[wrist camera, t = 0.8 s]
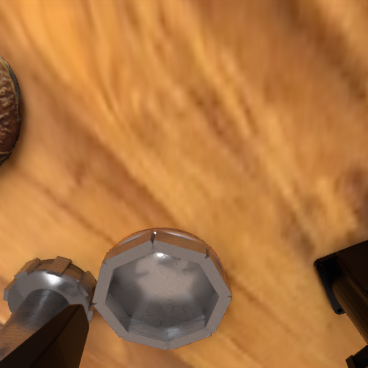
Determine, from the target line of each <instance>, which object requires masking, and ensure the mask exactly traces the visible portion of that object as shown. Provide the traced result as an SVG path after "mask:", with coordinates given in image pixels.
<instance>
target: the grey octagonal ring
mask: <svg viewBox="0 0 368 368" xmlns="http://www.w3.org/2000/svg"><path fill="white" fill-rule="evenodd" d="M231 295H232V294H231V289H230V284H229V281H228V279H227V278H226V276H225V274H224V269H223V266H222V263H221V261H220V259H219V257H218V256H217V254H216V253H215V252H214V250H213V249H212V248H211V247H210V246H209V245H208V244H206V243H205V242H204V241H203V240H201V239H199V238H198V237H196V236H194V235H192V234H190V233H187V232H184V231H181V230H177V229H171V228H152V229H146V230H142V231H139V232H136V233H133V234H131V235H129V236H128V237H126V238H124V239H123V240H122V241H120V242H119V243H118V244H117V245H116V246H115V247H114V248H112V249H110V250H109V252H107V254H106V256H105V258H104V260H103V262H102V264H101V269H100V273H99V277H98V281H97V285H96V289H95V293H94V297H93V301H92V302H93V303H94V305H93V306H94V307H95V308H96V309H97V311H98V312H99V313H100V314H101V316H102V317H103V318H104V319H105V320H106V322H107V323H108V324H109V325H110V327H111V328H112V329H113V330H114V331H115V333H116V334H117V335H118V336H119V338H120V337H123V340H127V341H131V342H135V343H139V344H143V345H147V346H151V347H155V348H159V349H163V350H167V349H168V347H169V349H170V350H173V349H175V348H178V347H181V346H184V345H187V344H190V343H192V342H195V341H198V340H201V339H204V338H207V337H209V336H212V333H215V332H216V330H217V328H218V326H219V324H220V322H221V320H222V318H223V315H224V313H225V311H226V309H227V307H228V305H229V303H230V301H231V299H232V296H231Z"/></svg>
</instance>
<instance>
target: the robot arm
mask: <svg viewBox="0 0 368 368" xmlns="http://www.w3.org/2000/svg"><path fill="white" fill-rule="evenodd" d="M320 264H322V265H321V266H319V265H320ZM314 266H315V269H316V271H317V273H318V276H319V278H320V280H321V283H322V285H323V288H324V290H325V292H326V295H327V297H328V299H329V302H330V304H331V307H332V309H333V310H334V312H335V313H336V314H338V315H340V314H344V313H346V314H347V315H348V317H349V318H350V320H351V321H352V322H353V324H354V325H355V327H356V328H357V330H358V331H359V332H360V334H361V335H362V337H363V338H364V340H365V341H366V343H367V344H368V240H367V241H364V242H361V243H359V244H356V245H354V246H351V247H348V248H346V249H343V250H341V251H338V252H335V253H333V254H330V255H327V256H325V257H322V258H320V259H317V260H316V261H315V262H314ZM88 331H89V322H88V318H87V315H86V312H85V309H84V306H83V305H82V304H70V305H68V306H66V307H65V308H64V309H63V310H62V311H60V312H59V313H58V314H57V315H56V316H54V317H53V318H52V319H51V320H49V321H48V322H47V323H46V324H45V325H43V326H42V327H41V328H40V329H39V330H37V331H36V332H35V333H34V334H32V335H31V336H30V337H29V338H28V339H26V340H25V341H24V342H23V343H21V344H20V345H19V346H18V347H17V348H15V349H14V350H13V351H12V352H11V353H9V354H8V355H7V356H6V357H4V358H3V359H2V360H1V361H0V368H79V365H80V361H81V357H82V353H83V350H84V346H85V342H86V338H87V335H88ZM346 362H347V365H348V368H368V345H366V346H365V347H364V348H362V349H361V350H360V351H358V352H357V353H356V354H355V355H351V356H349V357H348V358H347V359H346Z"/></svg>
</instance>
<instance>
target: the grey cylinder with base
mask: <svg viewBox="0 0 368 368" xmlns="http://www.w3.org/2000/svg"><path fill="white" fill-rule="evenodd" d="M70 262H71V260H69V259H66V258H62V257H58V256H57V258H56V259H48V260H42V261H40V260H39V259H38V258H35V259H33V260H31V261H29V262H27V263H26V264H25V265H24V266H23V267H22V268H21V269H20V270H19V272H18V273H17V274H16V275H15V276H14V277H15V278H14V279H13V281H12V282H11V283H10V284H9V285H8V286H7V287H6V288H5V289H4V298H3V300H6V301H8V305H9V308H10V310H11V312H12V314H11V317H10V318H9V319H8V321H7V322H6V323H5V324H4V326H3V327H2V328H1V329H0V361H1V360H2V359H3V358H4V357H6V356H7V355H8V354H9V353H11V352H12V351H13V350H14V349H15V348H17V347H18V346H19V345H20V344H21V343H23V342H24V341H25V340H26V339H28V338H29V337H30V336H31V335H32V334H34V333H35V332H36V331H37V330H39V329H40V328H41V327H42V326H43V325H45V324H46V323H47V322H48V321H49V320H51V319H52V318H53V317H54V316H56V315H57V314H58V313H59V312H60V311H62V310H63V309H64V308H65V307H66V306H68V305H70V304H82V305H83V306H84V309H85V312H86V315H87V318H88V321H91V320H92V318H93V315H94V313H95V311H96V308H95V307H94V306H93V305H94V303H93V302H92V301H93V297H94V293H95V287H94V284H95V281H96V280H95V279H94V278H93V276H92V275H91V274H90V272H89V271H88V272H84V271H83V270H82V269H80V268H79V267H77V266H75V265H74V264H71V263H70Z"/></svg>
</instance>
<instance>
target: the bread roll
mask: <svg viewBox="0 0 368 368" xmlns="http://www.w3.org/2000/svg"><path fill="white" fill-rule="evenodd" d="M16 81H17V80H16V78H15V75H14V74H13V72H12V70H11V69H10V67H9V64H8V63H7V62H6V61H4V60H3V58H2V56H0V165H2V163H3V162H4V161H5V160H6V159H7V158H9V156H10V155H11V153H12V152H11V151H12V149H13V148H14V147H15V144H16V141H17V140H18V135H19V130H20V125H21V124H20V123H21V122H20V121H21V115H20V114H19V113H18V105H19V101H20V99H19V98H20V96H19V95H20V93H19V92H20V91H19V87H18V86H17V85H18V83H17V82H16ZM10 152H11V153H10Z"/></svg>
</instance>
